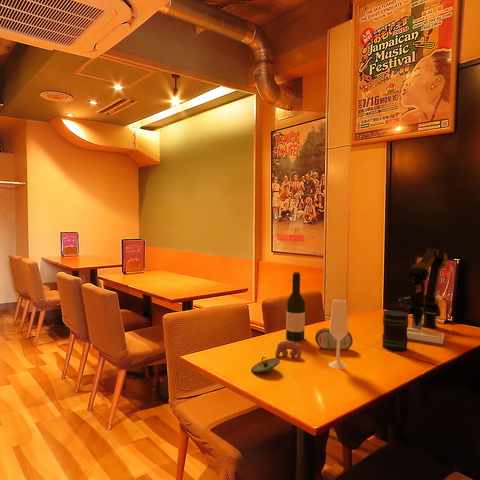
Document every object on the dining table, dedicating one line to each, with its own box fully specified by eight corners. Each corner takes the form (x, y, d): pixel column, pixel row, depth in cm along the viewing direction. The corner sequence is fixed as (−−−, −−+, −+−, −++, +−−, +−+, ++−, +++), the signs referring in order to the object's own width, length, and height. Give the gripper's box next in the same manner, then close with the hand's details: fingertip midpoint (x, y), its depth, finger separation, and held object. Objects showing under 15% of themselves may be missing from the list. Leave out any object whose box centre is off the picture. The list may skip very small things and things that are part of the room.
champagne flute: (344, 370, 135) (345, 303, 134) (325, 366, 138) (327, 301, 137) (349, 364, 141) (351, 300, 139) (331, 360, 144) (333, 298, 143)
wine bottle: (283, 340, 169) (284, 272, 167) (288, 335, 176) (289, 270, 175) (302, 342, 166) (303, 274, 164) (306, 337, 173) (307, 271, 172)
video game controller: (301, 362, 147) (303, 343, 150) (299, 360, 143) (301, 341, 146) (276, 358, 150) (278, 340, 153) (274, 357, 146) (276, 338, 149)
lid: (278, 378, 128) (279, 363, 127) (249, 375, 129) (249, 361, 129) (280, 366, 138) (280, 353, 138) (253, 364, 140) (253, 351, 139)
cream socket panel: (387, 331, 184) (388, 324, 184) (444, 340, 171) (444, 332, 171) (384, 336, 176) (384, 329, 176) (442, 346, 164) (443, 338, 163)
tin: (351, 348, 158) (352, 329, 158) (353, 351, 155) (353, 331, 155) (314, 347, 160) (315, 327, 159) (315, 349, 157) (316, 329, 156)
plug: (413, 326, 186) (413, 312, 185) (422, 327, 184) (422, 313, 183) (411, 328, 182) (412, 313, 182) (421, 329, 180) (421, 315, 180)
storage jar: (410, 348, 160) (412, 313, 160) (402, 353, 153) (403, 317, 152) (387, 342, 167) (388, 309, 166) (378, 347, 160) (379, 312, 159)
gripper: (403, 288, 194) (402, 318, 195) (396, 293, 178) (395, 326, 179) (427, 290, 188) (426, 321, 189) (423, 296, 172) (421, 330, 173)
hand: (417, 324), depth 183 cm, fingers closed on plug, 4 cm apart
